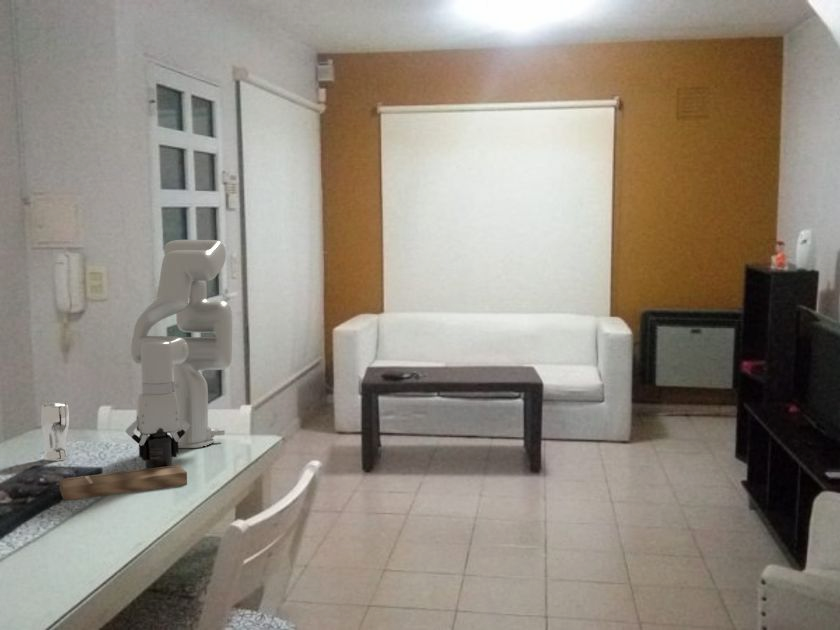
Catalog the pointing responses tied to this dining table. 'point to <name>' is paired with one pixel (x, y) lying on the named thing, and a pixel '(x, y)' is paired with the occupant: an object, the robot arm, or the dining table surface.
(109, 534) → the dining table surface
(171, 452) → the supplement bottle
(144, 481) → the walnut plank
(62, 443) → the beer glass
